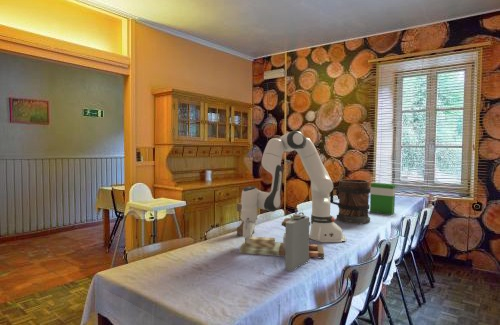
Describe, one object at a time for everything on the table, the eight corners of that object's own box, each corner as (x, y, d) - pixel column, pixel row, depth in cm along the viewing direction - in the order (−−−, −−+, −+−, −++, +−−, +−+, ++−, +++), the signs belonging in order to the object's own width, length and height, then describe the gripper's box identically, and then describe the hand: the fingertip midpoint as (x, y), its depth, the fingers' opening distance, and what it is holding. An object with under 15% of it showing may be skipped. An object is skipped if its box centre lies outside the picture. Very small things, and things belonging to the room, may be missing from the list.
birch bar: (275, 245, 181) (275, 237, 181) (274, 247, 176) (274, 240, 176) (246, 243, 183) (246, 236, 183) (244, 245, 179) (245, 238, 179)
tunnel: (298, 245, 181) (298, 233, 180) (298, 250, 172) (298, 238, 172) (284, 244, 182) (284, 232, 181) (283, 249, 174) (283, 237, 173)
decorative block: (242, 236, 205) (242, 204, 203) (236, 234, 209) (236, 203, 208) (254, 233, 212) (255, 202, 211) (248, 231, 217) (249, 201, 215)
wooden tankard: (365, 225, 233) (366, 183, 231) (325, 220, 249) (325, 180, 247) (372, 219, 252) (374, 180, 250) (335, 214, 268) (336, 177, 266)
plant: (308, 221, 246) (309, 206, 245) (311, 228, 227) (311, 212, 226) (282, 220, 248) (282, 205, 247) (282, 227, 228) (282, 211, 228)
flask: (301, 259, 166) (302, 210, 165) (309, 261, 163) (310, 211, 162) (282, 269, 153) (282, 216, 151) (290, 272, 150) (291, 218, 148)
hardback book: (370, 211, 280) (370, 183, 278) (372, 210, 285) (373, 182, 284) (391, 214, 269) (392, 185, 267) (394, 212, 275) (395, 184, 273)
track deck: (322, 249, 181) (322, 244, 181) (324, 258, 168) (324, 253, 168) (244, 244, 189) (244, 240, 188) (239, 253, 175) (239, 248, 175)
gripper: (252, 221, 169) (251, 247, 170) (257, 212, 189) (257, 236, 190) (239, 220, 170) (239, 246, 171) (246, 212, 190) (246, 235, 191)
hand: (249, 241), depth 181 cm, fingers open, 5 cm apart
